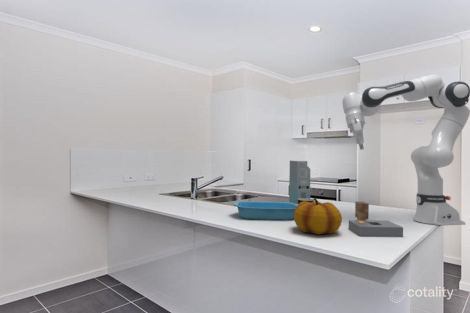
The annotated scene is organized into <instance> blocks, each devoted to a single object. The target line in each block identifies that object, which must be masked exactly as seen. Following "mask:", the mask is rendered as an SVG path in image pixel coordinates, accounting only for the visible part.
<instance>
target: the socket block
mask: <svg viewBox="0 0 470 313" xmlns="http://www.w3.org/2000/svg"><path fill="white" fill-rule="evenodd" d="M348 230H350V231H352V232H353V233H354V234H356V235H357V236H359V237H370V238H371V237H373V238H374V237H376V238H377V237H381V238H382V237H383V238H385V237H387V238H389V237H390V238H404V226H401V225H398V224H396V223H394V222H392V221H389V220H376V219H374V220H372V219H371V220H369V219H367V220H357V219H349V220H348Z"/></svg>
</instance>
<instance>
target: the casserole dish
mask: <svg viewBox="0 0 470 313" xmlns="http://www.w3.org/2000/svg"><path fill="white" fill-rule="evenodd" d="M232 205H233V206H235V207H237V211H238V214H239V216H240V217H241V218H242V219H244V220H245V219H246V220H263V221H264V220H265V221H266V220H271V221H292V220H294V210H295V208H296V207H297V205H298V204H295V203H289V201H287V202H285V201H259V200H258V201H256V200H255V201H252V200H251V201H250V200H243V201H237V202H233V204H232Z"/></svg>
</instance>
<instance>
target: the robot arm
mask: <svg viewBox="0 0 470 313" xmlns="http://www.w3.org/2000/svg"><path fill="white" fill-rule="evenodd" d="M399 96H401V97H402V98H403V99H404V100H405V101H406V102H416V101H420V100H423V99H426V98H428V101H429V102H430V104H431V105H432V106H433V108H436V109H444V111H443V114H442V115H441V117H440V118H439V120H438V122H437V123H436V124H435V126H434V129H433V130H432V132H431V136H432V137H431V140H430V143H429V145H428V146H427V145H425V146H420V147H416V148H415V149H413V151H411V154H410V159H411V162H412V163H413V165H414V168H415V172H416V176H417V192H416V200H415V201H416V207H415V208H416V209H415V214H414V217H413V221H415V222H419V223H423V224H427V225H436V226H442V227H443V226H463V225H465V226H466V221H463V220H461V216H460V212H459V211H458V210H457V209H455V207H453V206H451V205H450V204H449V203H448V202H447V201H451V200H452V197H451V196H448V195H444V179H443V177H442V176H441V174H440V170H439V169H440V168H444V167H447V166H450V165H451V164H452V162H453V160H454V152H453V149H454V146H455V143H456V140H458V138H459V136H460V134H461V133H462V131H463V129H464V128H465V126H466V124H467V122H468V120H469V117H470V108H469V107H468V106H467V104H468V103H469V101H470V100H469V98H470V85H469V84H468V83H466V82H465V81H453V82H451V83H447V84H445V83H444V82H443V79H442V77H441V76H440V75H438V74H428V75H424V76H420V77H416V78H414V79H410V80H405V81H399V82H394V83H392V84H388V85H382V86H370V87H367V88H366V89H364V91H363V93H362V95H361V94H358V93H356V92H350V93H347V94H346V95H344V97H343V98H342V109H343V113H344V114H345V121H346V126H347V128H348V129H349V130H350V132H352V134H353V137H354V140H355V142H356V145H358V146H359V149H360V150H361V151H362V150H364V149H365V148H364V143H365V139H364V126H365V124H366V121H365V120H366V119H365V117H370V116H371V117H372V116H374V115H375V114H376V113H377V112H378V111H379V110H380V107H381V105H382V103H383V102H384V101H386V100H387V99H391V98H395V97H399Z"/></svg>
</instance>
